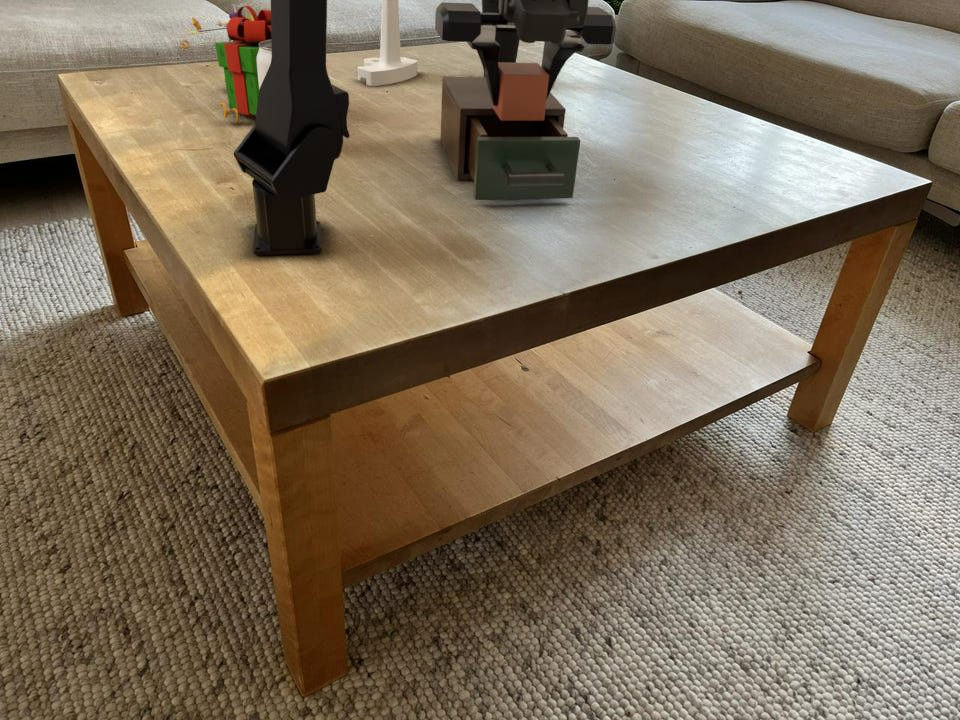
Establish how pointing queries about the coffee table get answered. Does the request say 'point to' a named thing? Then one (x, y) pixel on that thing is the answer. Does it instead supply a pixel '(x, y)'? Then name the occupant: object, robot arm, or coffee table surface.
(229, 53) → the gift wrap
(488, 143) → the drawer
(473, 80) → the cabinet
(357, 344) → the coffee table surface
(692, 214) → the coffee table surface
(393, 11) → the white post stand
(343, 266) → the coffee table surface
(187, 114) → the coffee table surface
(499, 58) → the drinking cup
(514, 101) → the block
